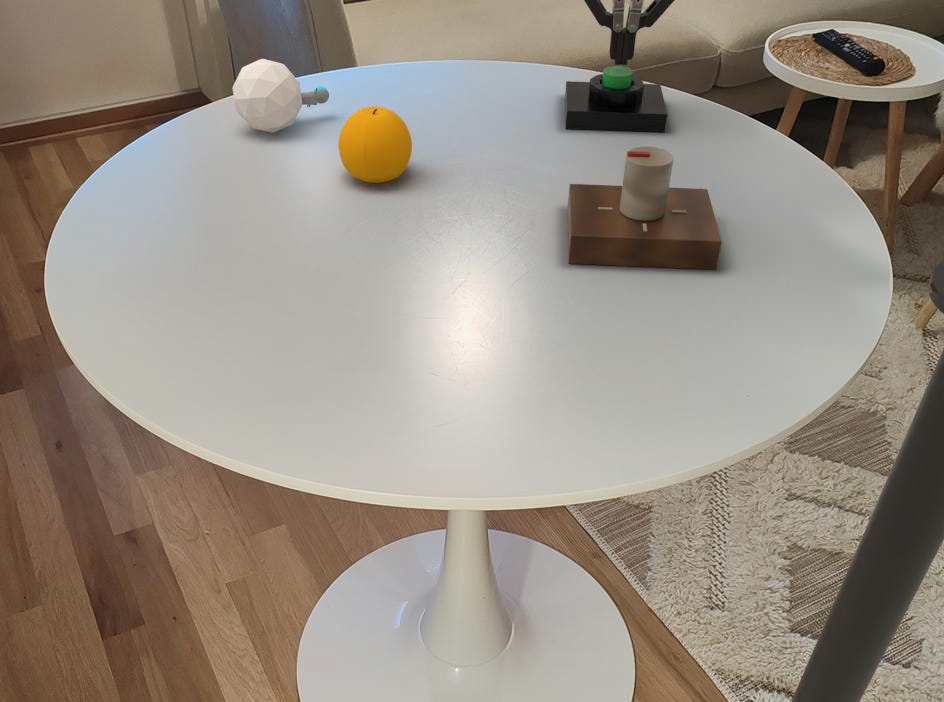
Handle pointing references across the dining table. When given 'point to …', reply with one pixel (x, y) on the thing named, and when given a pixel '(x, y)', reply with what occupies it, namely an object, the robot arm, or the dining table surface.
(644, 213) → the dimmer knob
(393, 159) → the orange fruit
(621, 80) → the green push button
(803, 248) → the dining table surface
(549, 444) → the dining table surface
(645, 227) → the dimmer panel
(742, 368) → the dining table surface
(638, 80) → the block
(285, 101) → the perfume bottle
